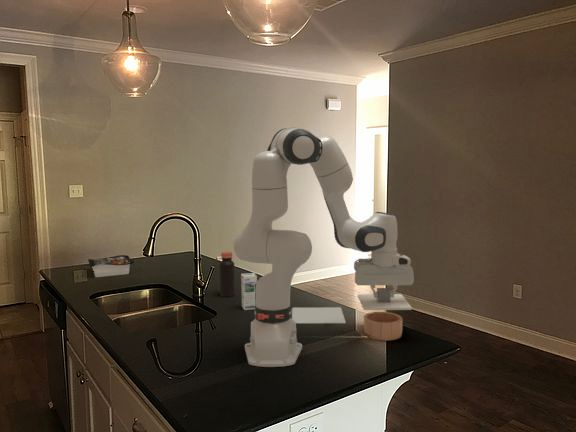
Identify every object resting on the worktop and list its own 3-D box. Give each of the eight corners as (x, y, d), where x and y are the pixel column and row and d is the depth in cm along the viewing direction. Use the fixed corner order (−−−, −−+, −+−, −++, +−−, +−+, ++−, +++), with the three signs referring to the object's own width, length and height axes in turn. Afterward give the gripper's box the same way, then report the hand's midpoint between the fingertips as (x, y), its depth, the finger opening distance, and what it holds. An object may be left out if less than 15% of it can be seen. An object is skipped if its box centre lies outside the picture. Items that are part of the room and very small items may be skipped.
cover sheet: (411, 309, 162) (412, 295, 161) (363, 310, 162) (363, 296, 162) (401, 296, 178) (401, 283, 177) (357, 296, 178) (357, 283, 178)
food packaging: (134, 261, 267) (90, 265, 257) (135, 275, 268) (91, 279, 258) (128, 254, 289) (87, 258, 280) (128, 267, 290) (88, 270, 281)
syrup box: (244, 310, 200) (243, 276, 199) (241, 306, 206) (241, 273, 204) (257, 309, 202) (257, 275, 200) (254, 305, 207) (254, 272, 206)
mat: (345, 325, 180) (345, 323, 180) (292, 325, 181) (292, 323, 180) (340, 309, 200) (340, 307, 200) (292, 309, 200) (292, 307, 200)
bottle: (236, 293, 227) (235, 251, 225) (233, 297, 220) (232, 254, 218) (222, 293, 227) (221, 251, 225) (218, 297, 221) (217, 253, 219)
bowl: (405, 340, 165) (405, 323, 164) (366, 340, 165) (367, 323, 164) (397, 327, 177) (397, 311, 177) (361, 327, 178) (361, 311, 177)
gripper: (355, 260, 165) (354, 300, 167) (415, 260, 165) (414, 299, 166) (353, 256, 171) (352, 294, 173) (411, 256, 171) (410, 294, 173)
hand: (383, 297), depth 170 cm, fingers closed on cover sheet, 4 cm apart
